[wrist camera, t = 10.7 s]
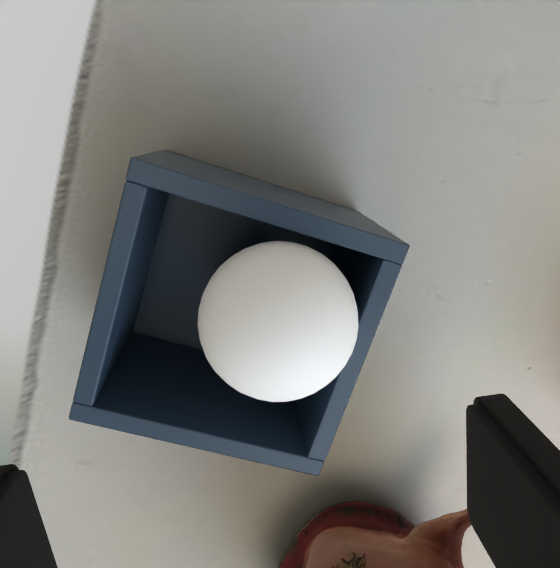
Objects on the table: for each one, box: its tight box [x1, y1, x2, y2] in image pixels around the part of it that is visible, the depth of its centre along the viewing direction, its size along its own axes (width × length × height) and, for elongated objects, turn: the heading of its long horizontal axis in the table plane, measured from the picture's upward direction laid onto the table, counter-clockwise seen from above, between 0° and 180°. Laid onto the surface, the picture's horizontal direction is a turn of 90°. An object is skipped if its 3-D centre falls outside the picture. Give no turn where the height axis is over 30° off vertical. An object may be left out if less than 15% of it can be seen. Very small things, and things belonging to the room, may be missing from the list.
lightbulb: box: [198, 241, 359, 402], centre depth 22 cm, size 6×6×11 cm
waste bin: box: [69, 150, 409, 476], centre depth 24 cm, size 11×11×9 cm
